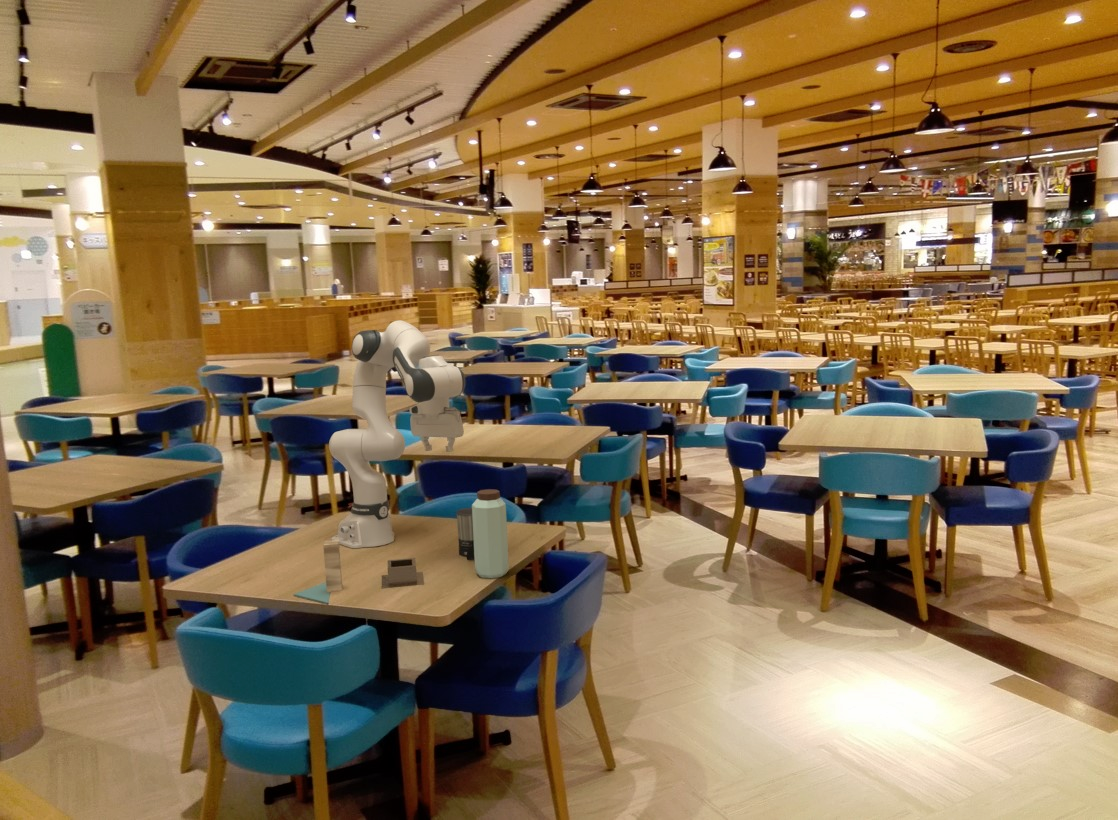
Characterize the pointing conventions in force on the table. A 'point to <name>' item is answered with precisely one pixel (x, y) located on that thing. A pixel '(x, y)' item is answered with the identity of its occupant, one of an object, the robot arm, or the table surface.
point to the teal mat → (315, 594)
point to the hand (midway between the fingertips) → (438, 451)
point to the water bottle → (490, 534)
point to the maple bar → (332, 566)
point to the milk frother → (465, 533)
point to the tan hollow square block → (402, 574)
